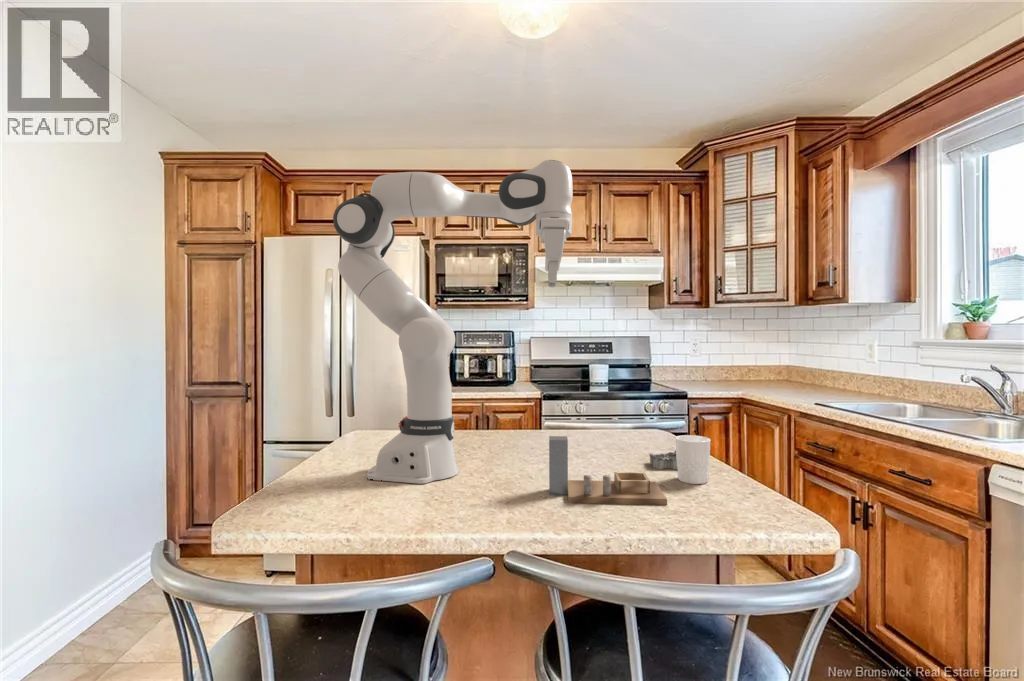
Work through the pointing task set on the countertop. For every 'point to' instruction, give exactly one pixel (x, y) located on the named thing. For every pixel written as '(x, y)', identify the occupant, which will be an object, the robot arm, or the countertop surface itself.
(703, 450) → the white cup
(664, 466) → the egg carton
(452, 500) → the countertop surface
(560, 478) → the grey tall block
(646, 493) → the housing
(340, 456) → the countertop surface
